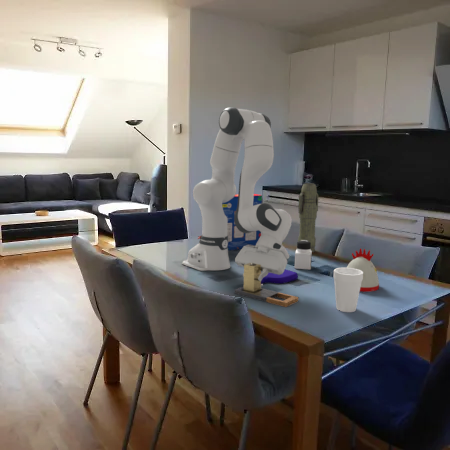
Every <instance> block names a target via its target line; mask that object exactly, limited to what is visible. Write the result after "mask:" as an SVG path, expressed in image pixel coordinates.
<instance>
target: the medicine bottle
mask: <svg viewBox="0 0 450 450" xmlns="http://www.w3.org/2000/svg"><path fill="white" fill-rule="evenodd" d="M310 250H311V242H309V241H305V240H301V241H298V240H297V243H296V250H295V252H294V269H297V270H311V269H312V255H313V254H312V251H310Z"/></svg>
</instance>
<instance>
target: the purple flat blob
mask: <svg viewBox="0 0 450 450" xmlns="http://www.w3.org/2000/svg"><path fill="white" fill-rule="evenodd" d="M298 278H299V275H298V273H297V272H296V271H294V270H289V269H286V268H285V270H284V272H283V273H282V274H280V275H278V274H274V273H268V275H266V276H265V277H264V278H262V280H261V287H262V286H264V284H267V283H269V284H278V285H279V284H287V283H290V282H293V281H296V280H298Z"/></svg>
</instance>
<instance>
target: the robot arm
mask: <svg viewBox="0 0 450 450" xmlns="http://www.w3.org/2000/svg"><path fill="white" fill-rule="evenodd" d="M271 123H272V122H271V120H270V117H268V116H267V115H265V114H263V113H261V112H256V111H254V110H250V109H244V108H237V107H226V108H224V109H223V110H222V112H221V113H220V115H219V118H218V125H219V131H217V132H218V133H217V135H216V138H215V141H214V143H213V144H214V145H213V148H212V152H211V156H210V160H209V164H210V167H211V171H212V172H211V173H212V174H211V178H210V179H204V180H202V181H200V182H198V183H196V184H195V185H194V186H193V190H192V196H193V197H192V198H193V200H194V201H195V202H196V203H197V205H198V207H199V210H200V214H201V227H202V228H201V229H202V230H201V231H202V232H201V233H202V234H201V235H200V236H197V240H199V243H197V244H196V245H195V246H193V247H191V248H190V249H189V250H188V253H187V259H184V260H183V261H182V263H181V264H182V265H184V266H186V267H189V268H193V269H195V270H197V271H200V272H201V271H202V272H203V271H204V272H205V271H224V270H228V269H230V268H231V267H232V266H231V262H230V258H229V251H228V235H227V224H228V219H227V217H226V215H225V214H224V211H223V207H222V203H225V202H228V201H229V200H231V199H232V198H233V197H234V196H235V195H237V186H236V184H235V172H236V166H237V163H238V158H239V154H240V152H241V148H242V147H241V146H242V143H243V141H244V156H243V157H244V158H243V164H242V168H241V171H240V175H239V182H238V183H239V184H238V204H237V209H236V212H235V216H234V222H235V225H236V227H237V228H238V230H239V231H241V232H242V233H250V232H253V231H258V230H259V231H260V232H261V236H260V238H259V240H258V242H257V243H256V245H246V246H244V247H243V248H242V249H240V250H239V252H238V253H237V254H236V257H235V258H234V261H235V264H236V265H237V266H238V267H243V268H244V265H245V264H248V263H255V264H260V265H261V266H260V267H261V274H260V275H257V277H256V280H257V281H261V280H262V278H264V277H265V276H266V275H268V273H274V274H278V275H280V274H282V273H283V272H284V270H285V269H286V267H287V265H288V259H289V258H290V254H289V251H288V250H287V249H286V247H285V246H284V245H283V242H284V240H286V238H287V236H288V234H289V232H290V230H291V228H292V227H291V226H292V221H293V219H292V216H291V214H290V213H289V212H287V210H285V209H281V208H279V209H278V208H275V207H274V206H272V205H271V204H269V203H267V202H262V204H258V205H254V206H253V198H254V194H255V187H256V184H257V182H258V180H260V178H261V177H262V176H263V175H264V174H265V173H267V172H268V171H269V170H270V169H271V167H272V166H273V162H274V158H275V154H274V153H275V152H274V137H273V134H272V129H271V127H272V126H271V125H272V124H271ZM242 277H243V278H244V272H243V273H242Z"/></svg>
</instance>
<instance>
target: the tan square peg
mask: <svg viewBox="0 0 450 450" xmlns="http://www.w3.org/2000/svg"><path fill="white" fill-rule="evenodd" d="M260 266H261V265H260V264H255V263H248V264H245V265H244V267H243V273H244V277H243V286H244V291H246V292H250V293H257V292H259V291H261V288H262V286H261V281H257V280H256V277H257V275H260V274H261V273H262V271H261V267H260Z"/></svg>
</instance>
